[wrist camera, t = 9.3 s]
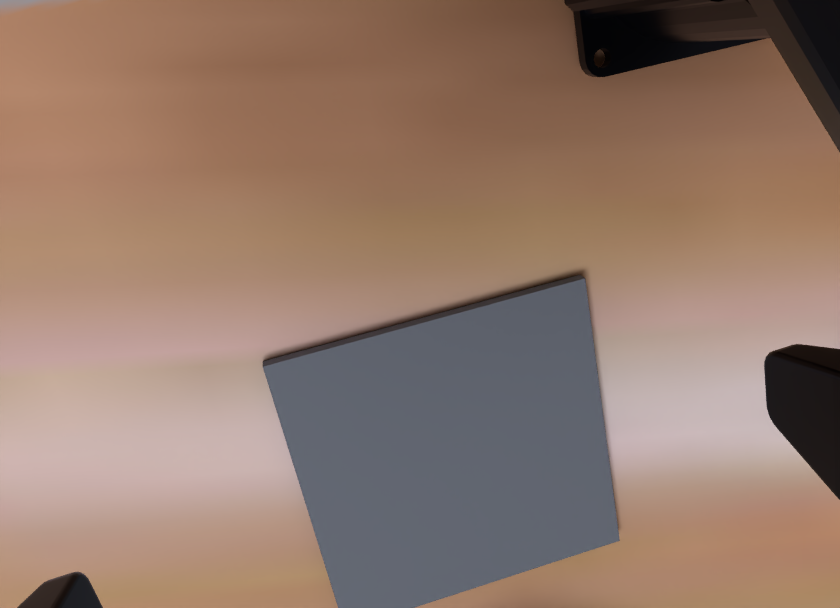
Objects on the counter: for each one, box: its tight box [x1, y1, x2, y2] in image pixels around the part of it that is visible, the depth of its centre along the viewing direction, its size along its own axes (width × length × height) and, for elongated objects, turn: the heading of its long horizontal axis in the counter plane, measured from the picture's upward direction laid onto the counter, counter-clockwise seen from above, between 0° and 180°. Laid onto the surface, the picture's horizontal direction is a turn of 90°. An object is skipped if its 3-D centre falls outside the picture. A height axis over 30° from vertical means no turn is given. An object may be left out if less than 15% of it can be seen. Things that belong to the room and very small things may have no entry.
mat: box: [263, 275, 620, 608], centre depth 23 cm, size 10×10×1 cm
